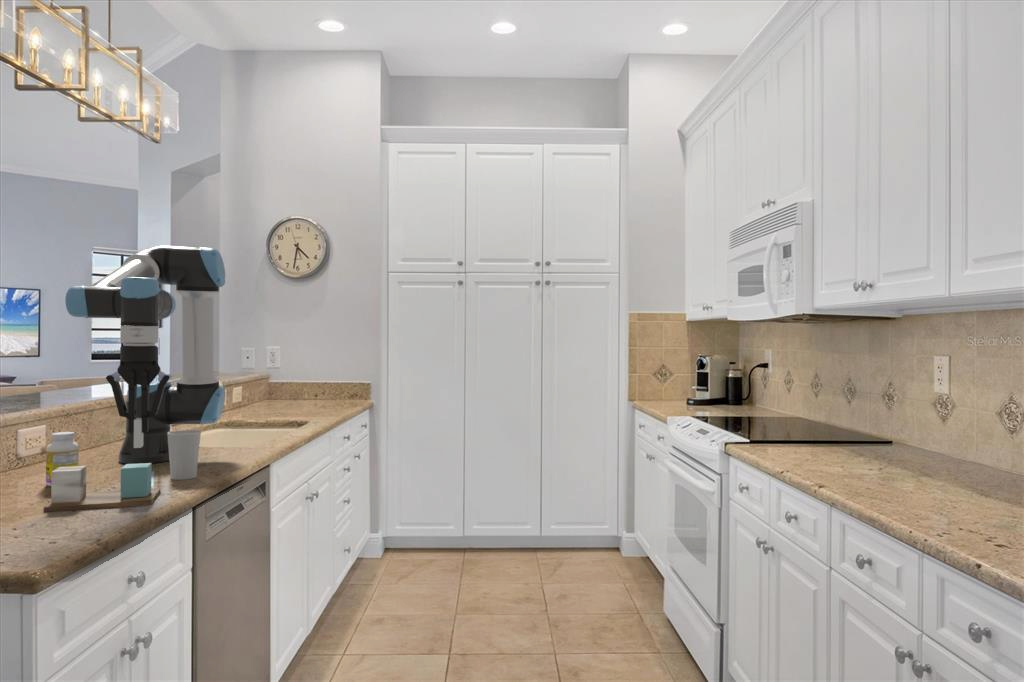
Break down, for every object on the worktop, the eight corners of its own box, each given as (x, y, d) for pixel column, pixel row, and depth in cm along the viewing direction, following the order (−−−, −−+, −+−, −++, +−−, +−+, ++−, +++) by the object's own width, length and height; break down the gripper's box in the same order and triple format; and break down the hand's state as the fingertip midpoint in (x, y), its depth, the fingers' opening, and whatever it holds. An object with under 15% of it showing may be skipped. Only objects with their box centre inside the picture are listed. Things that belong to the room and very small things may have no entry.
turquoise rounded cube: (125, 492, 145) (126, 464, 145) (151, 491, 147) (151, 462, 147) (120, 498, 141) (121, 468, 141) (146, 496, 142) (147, 467, 142)
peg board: (61, 498, 144) (61, 464, 144) (160, 492, 151) (160, 459, 151) (43, 511, 133) (44, 475, 133) (151, 504, 140) (152, 469, 140)
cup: (186, 481, 163) (186, 434, 163) (159, 479, 165) (160, 433, 165) (206, 474, 171) (207, 430, 171) (181, 473, 173) (182, 429, 173)
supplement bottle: (50, 482, 159) (50, 431, 159) (81, 480, 162) (81, 430, 162) (42, 488, 153) (43, 435, 153) (74, 486, 156) (75, 434, 156)
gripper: (102, 345, 139) (101, 451, 139) (169, 345, 143) (167, 448, 144) (110, 343, 146) (109, 445, 146) (173, 344, 150) (172, 442, 151)
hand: (138, 446), depth 145 cm, fingers closed
